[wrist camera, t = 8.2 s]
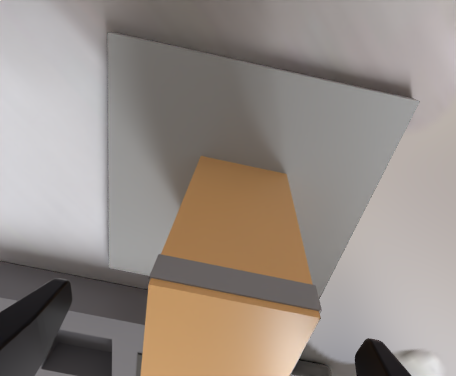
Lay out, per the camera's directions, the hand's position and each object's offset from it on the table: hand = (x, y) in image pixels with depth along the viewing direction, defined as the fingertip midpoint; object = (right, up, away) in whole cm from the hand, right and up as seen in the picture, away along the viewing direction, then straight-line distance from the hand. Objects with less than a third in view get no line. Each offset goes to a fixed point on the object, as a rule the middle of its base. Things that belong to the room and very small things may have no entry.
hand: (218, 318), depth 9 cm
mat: (+1, +4, +7) cm, 8 cm away
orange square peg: (+1, +3, +6) cm, 7 cm away
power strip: (-4, -7, +13) cm, 15 cm away
